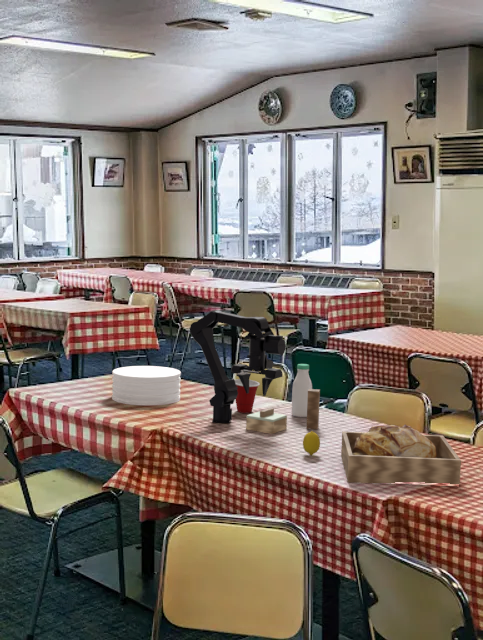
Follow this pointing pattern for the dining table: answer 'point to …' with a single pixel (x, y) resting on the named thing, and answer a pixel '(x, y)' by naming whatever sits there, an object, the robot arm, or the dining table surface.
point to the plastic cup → (246, 396)
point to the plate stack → (146, 385)
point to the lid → (267, 415)
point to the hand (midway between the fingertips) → (255, 394)
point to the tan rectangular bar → (313, 409)
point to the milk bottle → (301, 391)
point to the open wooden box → (266, 425)
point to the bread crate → (401, 464)
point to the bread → (394, 442)
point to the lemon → (311, 443)
